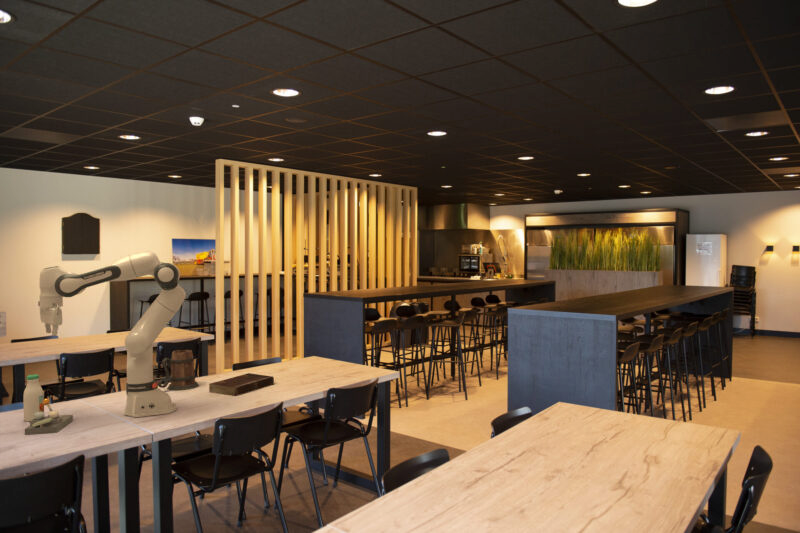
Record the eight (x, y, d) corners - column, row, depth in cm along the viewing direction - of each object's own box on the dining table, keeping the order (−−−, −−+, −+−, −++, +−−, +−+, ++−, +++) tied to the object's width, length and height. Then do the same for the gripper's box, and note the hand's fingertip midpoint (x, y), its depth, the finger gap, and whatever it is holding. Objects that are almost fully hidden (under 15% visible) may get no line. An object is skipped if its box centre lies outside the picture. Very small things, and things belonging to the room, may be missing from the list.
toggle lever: (56, 410, 248) (48, 396, 247) (54, 411, 245) (46, 398, 244) (50, 413, 247) (43, 399, 247) (48, 414, 245) (40, 401, 244)
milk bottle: (34, 422, 250) (32, 377, 250) (19, 421, 252) (18, 376, 251) (48, 417, 258) (47, 373, 257) (34, 416, 259) (32, 373, 259)
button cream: (59, 416, 242) (59, 410, 242) (56, 418, 239) (56, 412, 239) (51, 416, 242) (50, 410, 242) (47, 418, 238) (47, 412, 238)
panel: (73, 420, 252) (72, 410, 252) (56, 432, 235) (56, 421, 235) (43, 422, 250) (43, 412, 250) (24, 434, 232) (24, 423, 232)
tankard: (186, 382, 325) (185, 347, 324) (205, 385, 316) (204, 349, 315) (149, 391, 305) (148, 354, 304) (169, 394, 296) (168, 356, 295)
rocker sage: (52, 419, 238) (51, 417, 238) (49, 421, 234) (48, 419, 234) (36, 424, 236) (35, 422, 236) (32, 427, 233) (32, 424, 233)
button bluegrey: (45, 417, 241) (44, 411, 241) (41, 419, 238) (41, 413, 238) (36, 417, 241) (36, 411, 240) (33, 419, 237) (33, 413, 237)
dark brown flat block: (235, 396, 290) (235, 387, 290) (209, 393, 299) (209, 383, 299) (274, 384, 315) (273, 376, 315) (249, 381, 325) (248, 373, 324)
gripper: (66, 303, 247) (66, 335, 247) (52, 301, 261) (53, 331, 261) (49, 304, 242) (50, 336, 243) (37, 302, 257) (37, 332, 257)
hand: (51, 334), depth 252 cm, fingers open, 8 cm apart
